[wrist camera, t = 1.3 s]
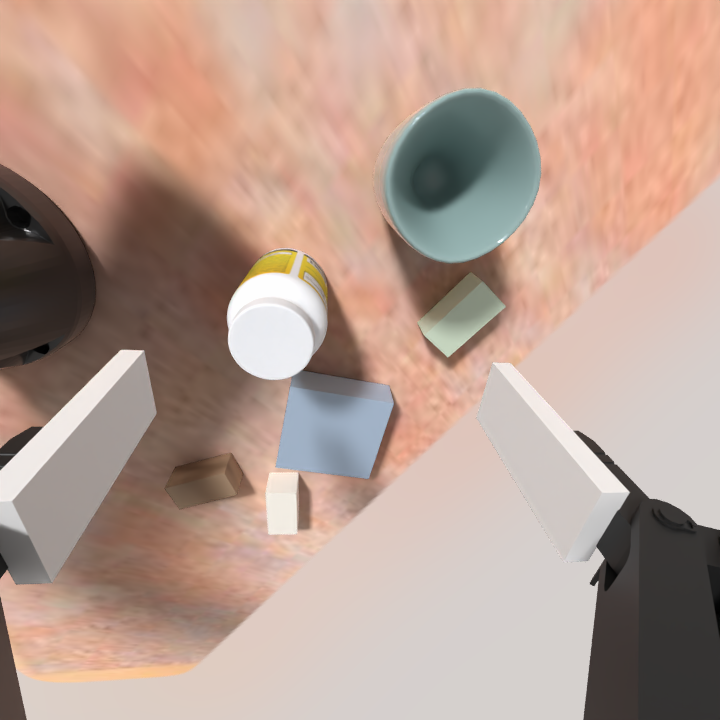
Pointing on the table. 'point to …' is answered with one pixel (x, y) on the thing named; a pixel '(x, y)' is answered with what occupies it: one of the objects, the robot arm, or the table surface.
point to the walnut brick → (204, 481)
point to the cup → (458, 175)
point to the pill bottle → (278, 315)
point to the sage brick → (460, 314)
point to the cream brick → (282, 503)
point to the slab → (333, 424)
